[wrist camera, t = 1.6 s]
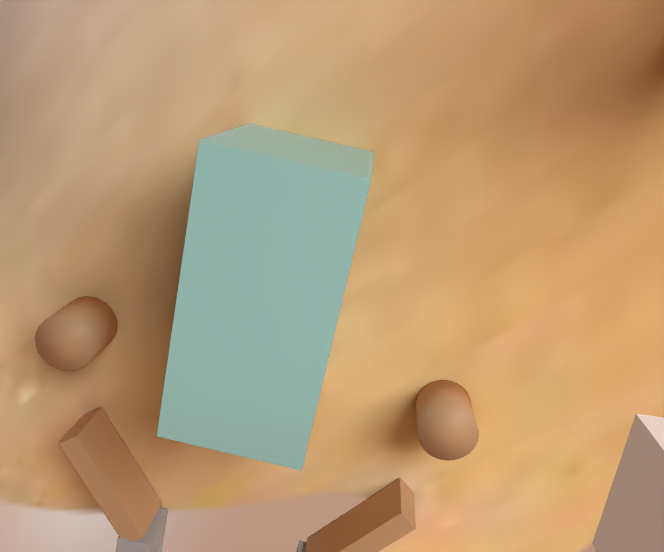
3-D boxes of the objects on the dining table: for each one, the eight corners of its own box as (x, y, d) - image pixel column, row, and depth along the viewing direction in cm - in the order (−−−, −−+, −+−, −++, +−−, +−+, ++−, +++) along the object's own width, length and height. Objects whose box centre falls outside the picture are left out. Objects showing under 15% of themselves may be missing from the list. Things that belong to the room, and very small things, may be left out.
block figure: (44, 561, 31) (18, 598, 29) (66, 291, 27) (37, 311, 24) (392, 643, 31) (392, 688, 29) (477, 387, 26) (486, 415, 24)
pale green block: (212, 348, 27) (156, 436, 20) (250, 123, 24) (199, 139, 17) (321, 374, 27) (301, 470, 20) (374, 151, 24) (371, 179, 17)
